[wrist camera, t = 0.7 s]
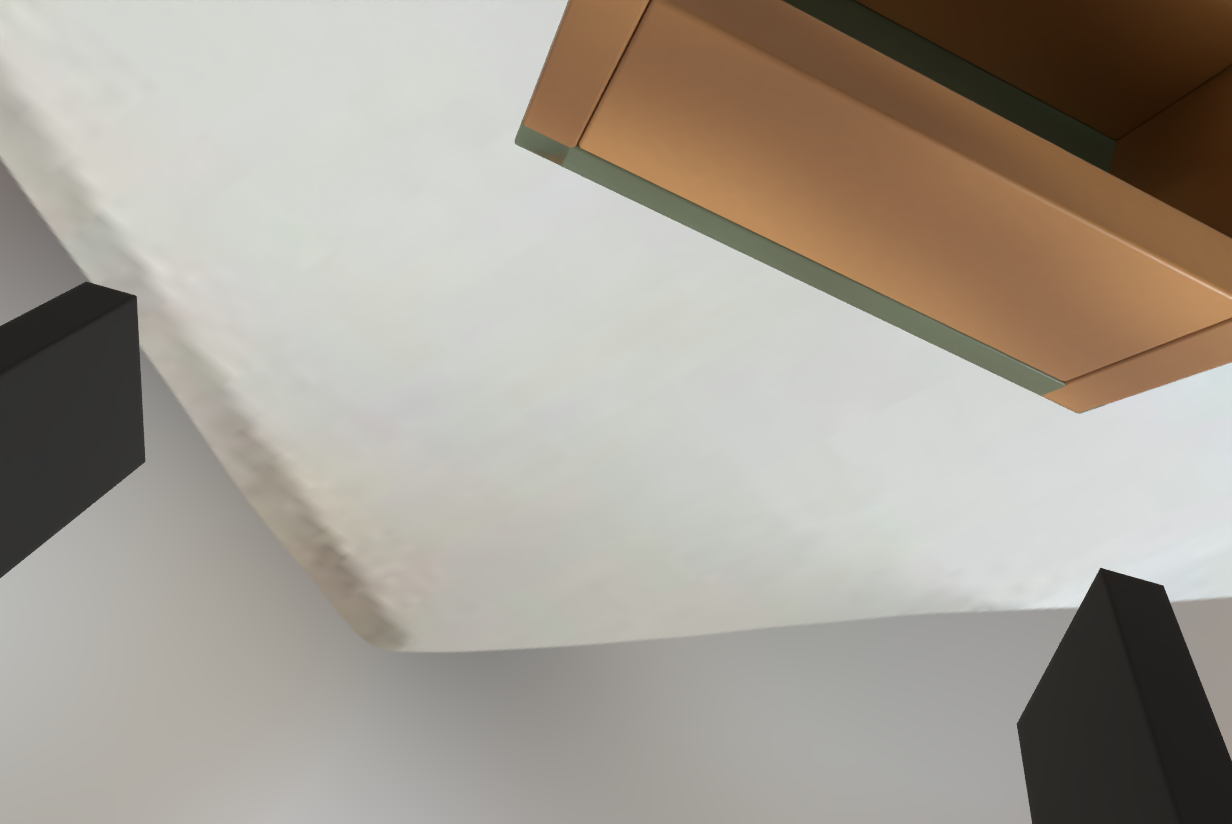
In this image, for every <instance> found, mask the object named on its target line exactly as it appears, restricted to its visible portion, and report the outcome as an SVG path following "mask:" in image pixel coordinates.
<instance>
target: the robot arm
mask: <svg viewBox="0 0 1232 824" xmlns="http://www.w3.org/2000/svg"><path fill="white" fill-rule="evenodd" d="M144 462H145V447H144V428H143V410H142V390H141V371H140V352H139V333H138V314H137V296H135V295H132V294H128V293H125V292H121V291H118V290H114V289H111V288H107V287H103V286H100V285H96V284H93V283H89V282H85V283H83V284H81V285H79V286H77V287H75V288H73V289H71V290H69V291H67V292H65V293H64V294H61V295H60V296H58V297H56V298H54V299H52V300H50V301H48V302H46V303H44V304H42V305H40V306H38V307H36V308H34V309H33V310H30V311H29V312H27V313H25V314H23V315H21V316H19V317H17V318H15V319H13V320H11V321H10V322H7V323H5V324H4V325H2V326H0V578H1V577H2V576H4V575H5V574H6V573H7V572H9V571H10V570H11V569H12V568H13V567H15V566H16V565H17V564H19V563H20V562H21V561H22V560H24V559H25V558H26V557H27V556H28V555H30V554H31V553H32V552H33V551H35V550H36V549H37V548H38V547H40V546H41V545H42V544H43V543H44V542H46V541H47V540H48V539H50V538H51V537H52V536H53V535H54V534H56V533H57V532H58V531H60V530H61V529H62V528H63V527H65V526H66V525H67V524H68V523H70V522H71V521H72V520H73V519H75V518H76V517H77V516H78V515H80V514H81V513H82V512H83V511H85V510H86V509H87V508H88V507H90V506H91V505H92V504H93V503H95V502H96V501H97V500H98V499H99V498H101V497H102V496H103V495H104V494H106V493H107V492H108V491H109V490H111V489H112V488H113V487H114V486H116V485H117V484H118V483H119V482H121V481H122V480H123V479H124V478H126V477H127V476H128V475H129V474H131V473H132V472H133V471H134V470H136V469H137V468H138V467H139V466H141V465H142V464H143V463H144ZM1017 728H1018V734H1019V741H1020V748H1021V754H1022V761H1023V767H1024V773H1025V780H1026V786H1027V792H1028V799H1029V806H1030V812H1031V818H1032V824H1232V761H1231V758H1230V756H1229V753H1228V750H1227V748H1226V746H1225V743H1224V740H1223V737H1222V735H1221V732H1220V730H1219V727H1218V725H1217V722H1216V720H1215V717H1214V714H1213V712H1212V709H1211V707H1210V704H1209V702H1208V699H1207V697H1206V694H1205V691H1204V689H1203V686H1202V684H1201V681H1200V679H1199V676H1198V673H1197V671H1196V669H1195V666H1194V663H1193V661H1192V658H1191V656H1190V653H1189V650H1188V648H1187V645H1186V643H1185V641H1184V637H1183V635H1182V633H1181V630H1180V627H1179V625H1178V622H1177V620H1176V617H1175V614H1174V612H1173V609H1172V607H1171V604H1170V601H1169V599H1168V596H1167V594H1166V591H1165V589H1164V586H1163V585H1159V584H1156V583H1152V582H1149V581H1145V580H1142V579H1138V578H1134V577H1131V576H1127V575H1124V574H1120V573H1117V572H1113V571H1110V570H1106V569H1103V568H1100V570H1099V572H1098V573H1097V575H1096V577H1095V579H1094V581H1093V583H1092V585H1091V587H1090V588H1089V590H1088V592H1087V594H1086V596H1085V598H1084V600H1083V601H1082V603H1081V605H1080V607H1079V609H1078V611H1077V613H1076V615H1075V616H1074V618H1073V620H1072V622H1071V624H1070V626H1069V628H1068V630H1067V631H1066V633H1065V635H1064V637H1063V639H1062V641H1061V643H1060V644H1059V646H1058V648H1057V650H1056V652H1055V654H1054V656H1053V658H1052V659H1051V661H1050V663H1049V665H1048V667H1047V669H1046V671H1045V673H1044V675H1043V676H1042V678H1041V680H1040V682H1039V684H1038V685H1037V687H1036V689H1035V691H1034V693H1033V695H1032V697H1031V699H1030V700H1029V702H1028V704H1027V706H1026V708H1025V710H1024V712H1023V713H1022V715H1021V717H1020V719H1019V721H1018V723H1017Z"/></svg>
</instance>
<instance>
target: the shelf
mask: <svg viewBox="0 0 1232 824" xmlns="http://www.w3.org/2000/svg"><path fill="white" fill-rule="evenodd" d="M515 144H516V145H518V146H520V147H522V148H525V149H527V150H529V151H531V152H533V153H535V154H537V155H539V156H541V157H543V158H545V159H548V160H550V161H552V162H554V163H556V164H558V165H560V166H562V167H564V168H566V169H568V170H570V171H573V172H575V173H577V174H579V175H581V176H583V177H585V178H587V179H589V180H591V181H593V182H596V183H598V184H600V185H602V186H604V187H606V188H608V189H610V190H612V191H614V192H616V193H619V194H621V195H623V196H625V197H627V198H629V199H631V200H633V201H635V202H637V203H639V204H641V205H644V206H646V207H648V208H650V209H652V210H654V211H656V212H658V213H660V214H662V215H664V216H667V217H669V218H671V219H673V220H675V221H677V222H679V223H681V224H683V225H685V226H687V227H689V228H692V229H694V230H696V231H698V232H700V233H702V234H704V235H706V236H708V237H710V238H712V239H715V240H717V241H719V242H721V243H723V244H725V245H727V246H729V247H731V248H733V249H735V250H737V251H740V252H742V253H744V254H746V255H748V256H750V257H752V258H754V259H756V260H758V261H760V262H763V263H765V264H767V265H769V266H771V267H773V268H775V269H777V270H779V271H781V272H783V273H785V274H788V275H790V276H792V277H794V278H796V279H798V280H800V281H802V282H804V283H806V284H808V285H811V286H813V287H815V288H817V289H819V290H821V291H823V292H825V293H827V294H829V295H831V296H834V297H836V298H838V299H840V300H842V301H844V302H846V303H848V304H850V305H852V306H854V307H856V308H859V309H861V310H863V311H865V312H867V313H869V314H871V315H873V316H875V317H877V318H879V319H882V320H884V321H886V322H888V323H890V324H892V325H894V326H896V327H898V328H900V329H902V330H904V331H907V332H909V333H911V334H913V335H915V336H917V337H919V338H921V339H923V340H925V341H927V342H930V343H932V344H934V345H936V346H938V347H940V348H942V349H944V350H946V351H948V352H950V353H952V354H955V355H957V356H959V357H961V358H963V359H965V360H967V361H969V362H971V363H973V364H975V365H978V366H980V367H982V368H984V369H986V370H988V371H990V372H992V373H994V374H996V375H998V376H1001V377H1003V378H1005V379H1007V380H1009V381H1011V382H1013V383H1015V384H1017V385H1019V386H1021V387H1023V388H1026V389H1028V390H1030V391H1032V392H1034V393H1036V394H1038V395H1040V396H1042V397H1044V398H1046V399H1049V400H1051V401H1053V402H1055V403H1057V404H1059V405H1061V406H1063V407H1065V408H1067V409H1069V410H1071V411H1074V412H1076V413H1083V412H1086V411H1089V410H1092V409H1095V408H1098V407H1101V406H1104V405H1106V404H1109V403H1112V402H1115V401H1118V400H1121V399H1124V398H1127V397H1130V396H1133V395H1136V394H1139V393H1142V392H1145V391H1148V390H1151V389H1154V388H1157V387H1160V386H1163V385H1166V384H1169V383H1172V382H1175V381H1178V380H1181V379H1184V378H1186V377H1189V376H1192V375H1195V374H1198V373H1201V372H1204V371H1207V370H1210V369H1213V368H1216V367H1219V366H1222V365H1225V364H1228V363H1231V362H1232V0H569V1H568V3H567V6H566V8H565V11H564V14H563V16H562V19H561V21H560V24H559V26H558V29H557V32H556V34H555V37H554V39H553V42H552V45H551V47H550V50H549V52H548V55H547V58H546V60H545V63H544V65H543V68H542V71H541V73H540V76H539V78H538V81H537V84H536V86H535V89H534V91H533V94H532V96H531V99H530V102H529V104H528V107H527V109H526V112H525V115H524V117H523V120H522V122H521V125H520V128H519V130H518V133H517V135H516V138H515Z"/></svg>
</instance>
